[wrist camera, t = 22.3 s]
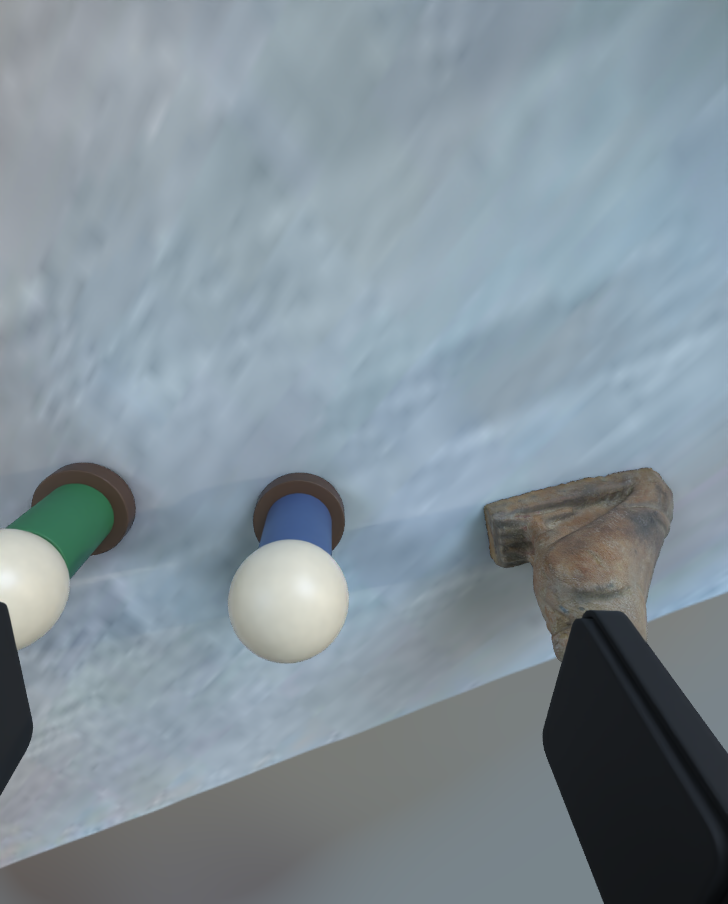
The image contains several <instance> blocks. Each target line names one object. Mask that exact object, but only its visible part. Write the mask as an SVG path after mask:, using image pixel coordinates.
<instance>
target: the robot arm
mask: <svg viewBox="0 0 728 904" xmlns="http://www.w3.org/2000/svg"><path fill="white" fill-rule="evenodd" d="M32 732H33V722H32V717H31V712H30V708H29V703H28V698H27V694H26V689H25V684H24V680H23V675H22V670H21V666H20V661H19V656H18V652H17V647H16V643H15V638H14V633H13V629H12V624H11V619H10V615H9V610H8V607H7V605H6V604H5V603H4V602H0V795H1V794H2V792H3V790H4V788H5V787H6V785H7V783H8V781H9V780H10V778H11V776H12V774H13V773H14V771H15V769H16V767H17V766H18V764H19V762H20V760H21V759H22V757H23V755H24V754H25V752H26V750H27V748H28V746H29V743H30V741H31V737H32ZM543 745H544V751H545V753H546V757H547V759H548V762H549V764H550V767H551V769H552V772H553V774H554V777H555V779H556V782H557V785H558V787H559V790H560V792H561V795H562V797H563V800H564V803H565V805H566V807H567V810H568V813H569V815H570V818H571V820H572V823H573V826H574V828H575V831H576V833H577V836H578V838H579V841H580V843H581V846H582V849H583V851H584V854H585V856H586V859H587V861H588V864H589V866H590V869H591V872H592V874H593V877H594V879H595V882H596V884H597V887H598V889H599V892H600V895H601V897H602V899H603V902H604V904H728V753H727V752H726V751H725V749H724V748H723V747H722V745H721V744H720V742H719V741H718V740H717V738H716V737H715V736H714V734H713V733H712V732H711V730H710V729H709V727H708V726H707V725H706V724H705V722H704V721H703V719H702V718H701V717H700V715H699V714H698V712H697V711H696V710H695V708H694V707H693V706H692V704H691V703H690V701H689V700H688V699H687V697H686V696H685V695H684V693H683V692H682V691H681V689H680V688H679V686H678V685H677V684H676V682H675V681H674V679H673V678H672V677H671V675H670V674H669V673H668V671H667V670H666V668H665V667H664V666H663V664H662V663H661V662H660V660H659V659H658V658H657V656H656V655H655V653H654V652H653V651H652V649H651V648H650V647H649V645H648V644H647V642H646V641H645V640H644V638H643V637H642V636H641V634H640V633H639V631H638V630H637V629H636V627H635V626H634V625H633V623H632V622H631V620H630V619H629V618H628V616H627V615H626V614H625V613H624V612H621V611H608V610H587V611H586V612H585V613H584V614H583V616H582V618H578V619H575V620H574V622H573V624H572V627H571V631H570V634H569V638H568V642H567V645H566V649H565V652H564V656H563V660H562V664H561V667H560V671H559V674H558V678H557V681H556V686H555V689H554V692H553V696H552V699H551V703H550V707H549V710H548V714H547V718H546V721H545V725H544V729H543Z"/></svg>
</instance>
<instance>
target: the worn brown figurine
mask: <svg viewBox="0 0 728 904" xmlns="http://www.w3.org/2000/svg"><path fill="white" fill-rule="evenodd" d="M620 472H621V471H620ZM620 472H618V473H613V474H611V475H609V474H608V475H607V476H606V477H602V476H598V477H595V478H591V477H588V478H584V479H582V480H577V481H576V482H574V481H572V482H570V483H567V484H560V485H558V486H555V487H547V488H545V489H540V490H537V491H531V492H529V493H525V494H522V495H520V496H514V497H511V498H509V499H502V500H499V501H497V502H493V503H490V504H487V505H486V506H484V514H485V521H486V528H487V531H488V539H489V544H490V545H489V549H490V555H491V558H492V559H493V560H494V562H495V564H496V565H498V566H500V567H504V568H510V567H514V566H518V565H521V564H524V563H531V565H532V566H533V586H534V592H535V596H536V599H537V602H538V605H539V607H540V610H541V612H542V615H543V617H544V619H545V621H546V625H547V628H548V630H549V632H550V633H551V634H552V643H553V649H554V652H555V655H556V657H557V659H558V660H559V661H561V662H562V660H563V656H564V652H565V649H566V645H567V642H568V638H569V634H570V631H571V627H572V624H573V622H574V620H575V619H578V618H582V616H583V614H584V613H585V612H586V611H587V610H608V611H621V612H624V613H625V614H626V615H627V616H628V618H629V619H630V620H631V622H632V623H633V625H634V626H635V627H636V629H637V630H638V631H639V633H640V634H641V636H642V637H643V638H644V640H645V641H646V642H647V616H646V601H647V597H648V592H649V587H650V583H651V580H652V575H653V572H654V568H655V564H656V562H657V559H658V557H659V553H660V550H661V547H662V545H663V542H664V539H665V538H666V536H667V535H668V533H669V530H670V523H671V521H672V518H673V494H672V491H671V490H670V488H669V487H668V486H667V485H666V483H665V482H664V481H663V480H662V478H661V477H660V475H659V474H658V473H657V472H655V471H653V470H652V468H650V469H649V468H641V469H638V470H637V469H636V470H630V471H625V472H624V471H622V472H621V473H620ZM579 479H580V478H579Z"/></svg>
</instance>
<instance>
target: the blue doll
mask: <svg viewBox="0 0 728 904" xmlns="http://www.w3.org/2000/svg"><path fill="white" fill-rule="evenodd" d="M344 526H345V517H344V506H343V503H342V500H341V497H340V495H339V494H338V492H337V491H336V489H335V488H334V487H333V486H332V485H331V484H330V483H329V482H327V481H326V480H324V479H322V478H320V477H318V476H316V475H312V474H308V473H291V474H287V475H284V476H281V477H279V478H277V479H275V480H274V481H272V482H271V483H270V484H269V485H268V486H267V487H266V488H265V489H264V490H263V491H262V493H261V495H260V497H259V499H258V502H257V505H256V508H255V511H254V516H253V527H254V532H255V534H256V537H257V539H258V541H259V543H260V544H259V548H258V549H257V550H256V551H254V552H253V553H252V554H251V555H249V556H248V557H247V558H246V559H245V560H244V562H243V563H242V564H241V565H240V567H239V568H238V570H237V571H236V573H235V575H234V577H233V580H232V582H231V585H230V590H229V595H228V612H229V617H230V621H231V625H232V627H233V629H234V631H235V633H236V635H237V637H238V638H239V640H240V641H241V642H242V643H243V645H244V646H245V647H246V648H247V649H249V650H250V651H251V652H252V653H254V654H255V655H257V656H259V657H261V658H263V659H265V660H268V661H272V662H276V663H297V662H301V661H304V660H308V659H310V658H312V657H314V656H316V655H318V654H319V653H321V652H322V651H324V650H325V649H326V648H327V647H328V646H329V645H330V644H331V643H332V642H333V641H334V640H335V638H336V637H337V636H338V634H339V633H340V631H341V629H342V627H343V625H344V622H345V619H346V616H347V612H348V604H349V594H348V587H347V583H346V579H345V577H344V574H343V572H342V570H341V568H340V567H339V565H338V564H337V562H336V561H335V560H334V559H333V558H332V550H333V549H334V548H335V547H336V546H337V544H338V543H339V541H340V539H341V537H342V535H343V531H344Z"/></svg>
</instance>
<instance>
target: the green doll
mask: <svg viewBox="0 0 728 904" xmlns="http://www.w3.org/2000/svg"><path fill="white" fill-rule="evenodd" d="M135 510H136V507H135V501H134V497H133V495H132V492H131V490H130V489H129V487H128V485H127V484H126V483H125V481H124V480H123V479H122V478H121V477H120V476H118V475H117V474H116V473H114V472H113V471H111V470H109V469H107V468H105V467H103V466H100V465H97V464H92V463H74V464H70V465H67V466H64V467H62V468H60V469H59V470H57V471H56V472H54V473H53V474H51V475H50V476H49V477H47V478H46V479H45V480H44V481H42V482H41V484H40V485H39V486H38V487H37V489H36V491H35V493H34V495H33V499H32V505H31V509H29V510H28V511H27V512H26V513H24V514H23V515H22V516H20V517H19V518H18V519H17V520H15V521H14V522H13V523H12V524H10V525H9V526H8V527H6V528H5V529H0V602H4V603H5V604H6V605H7V607H8V610H9V615H10V619H11V624H12V629H13V633H14V638H15V643H16V647H17V651H18V650H21V649H23V648H25V647H27V646H29V645H31V644H33V643H34V642H36V641H37V640H38V639H40V638H41V637H43V636H44V635H45V634H46V633H47V632H48V631H49V630H50V629H51V628H52V627H53V626H54V625H55V623H56V622H57V620H58V619H59V618H60V616H61V614H62V612H63V610H64V608H65V606H66V603H67V600H68V596H69V590H70V579H71V577H72V576H73V575H74V574H75V573H76V572H77V570H78V569H79V568H80V567H81V566H82V565H83V563H84V562H85V561H86V560H87V559H88V558H89V556H91V555H97V554H101V553H104V552H106V551H108V550H110V549H112V548H113V547H115V546H116V545H117V544H118V543H119V542H120V541H121V540H122V538H123V537H124V536H125V535H126V533H127V532H128V531H129V529H130V528H131V526H132V524H133V521H134V518H135Z"/></svg>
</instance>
